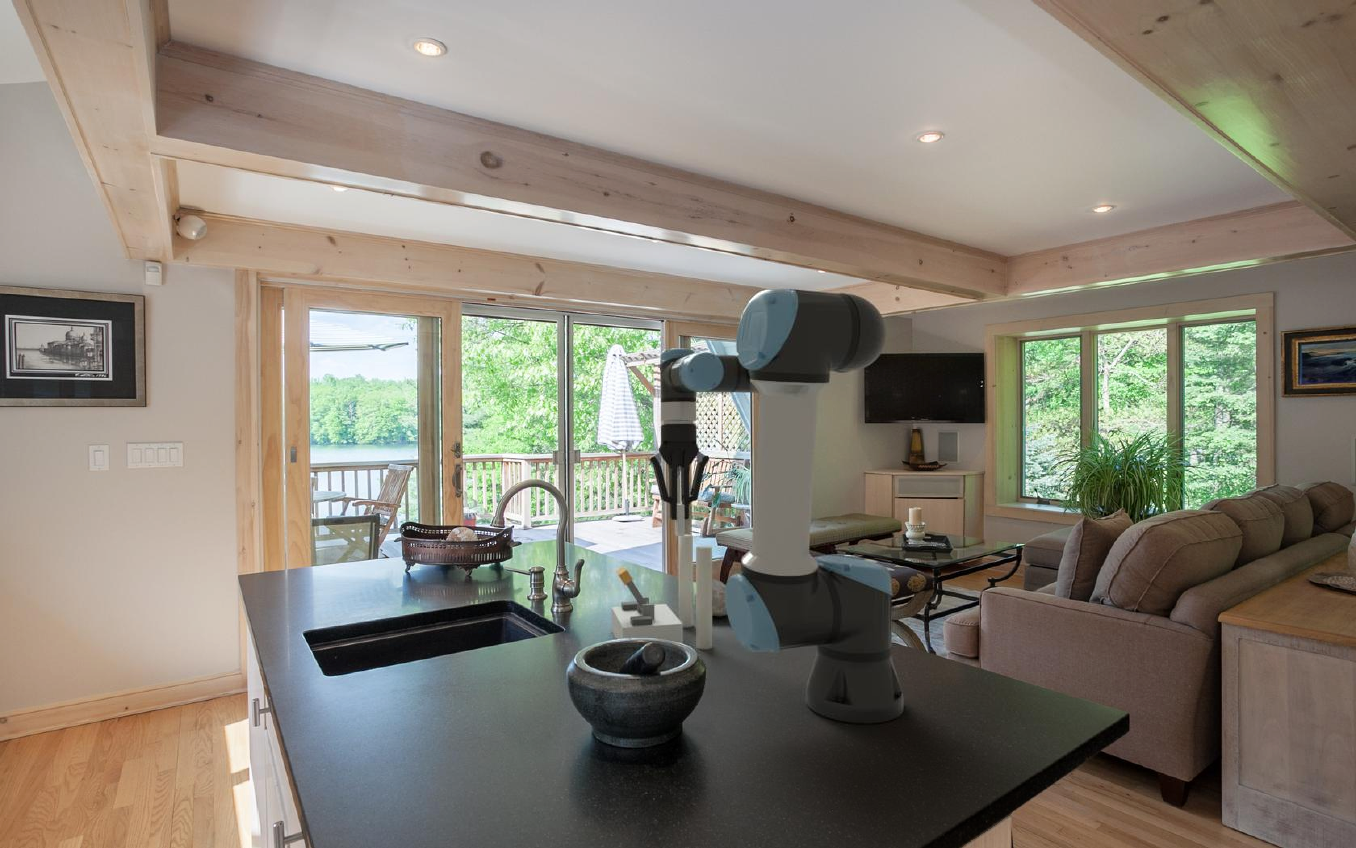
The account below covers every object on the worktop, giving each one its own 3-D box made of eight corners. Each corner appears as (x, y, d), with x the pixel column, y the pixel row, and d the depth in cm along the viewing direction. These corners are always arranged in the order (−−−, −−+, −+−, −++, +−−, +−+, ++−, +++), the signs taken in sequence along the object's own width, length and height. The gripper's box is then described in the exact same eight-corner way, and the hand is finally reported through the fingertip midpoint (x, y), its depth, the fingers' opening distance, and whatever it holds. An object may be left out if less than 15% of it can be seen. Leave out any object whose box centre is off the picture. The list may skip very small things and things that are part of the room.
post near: (714, 648, 144) (713, 548, 144) (698, 650, 143) (698, 549, 143) (709, 644, 147) (709, 545, 147) (694, 645, 146) (694, 546, 146)
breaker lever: (654, 611, 149) (626, 569, 147) (645, 617, 148) (618, 575, 147) (650, 606, 152) (623, 566, 151) (642, 612, 152) (615, 571, 151)
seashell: (728, 606, 159) (738, 557, 171) (680, 612, 164) (694, 564, 176) (743, 633, 164) (752, 584, 175) (697, 638, 168) (709, 590, 180)
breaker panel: (682, 648, 144) (682, 608, 144) (623, 653, 141) (622, 612, 141) (665, 626, 159) (665, 590, 159) (611, 630, 157) (611, 593, 157)
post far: (694, 627, 159) (694, 536, 159) (680, 628, 158) (680, 537, 158) (691, 623, 162) (690, 534, 162) (677, 624, 161) (677, 534, 161)
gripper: (703, 423, 157) (704, 531, 156) (644, 423, 154) (645, 534, 153) (713, 422, 149) (714, 536, 149) (651, 422, 146) (652, 539, 146)
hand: (679, 535), depth 151 cm, fingers closed
